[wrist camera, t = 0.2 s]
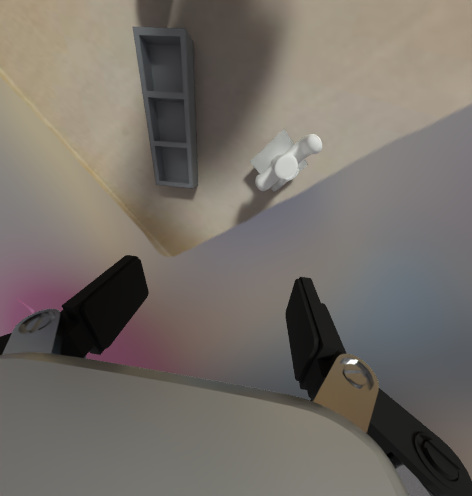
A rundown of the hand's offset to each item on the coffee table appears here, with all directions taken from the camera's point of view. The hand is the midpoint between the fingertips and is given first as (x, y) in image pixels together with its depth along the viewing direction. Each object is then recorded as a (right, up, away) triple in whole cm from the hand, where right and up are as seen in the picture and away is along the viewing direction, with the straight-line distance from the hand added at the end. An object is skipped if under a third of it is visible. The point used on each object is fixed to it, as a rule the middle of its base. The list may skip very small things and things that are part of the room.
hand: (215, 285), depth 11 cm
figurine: (+9, +19, +24) cm, 32 cm away
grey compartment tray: (-10, +26, +23) cm, 36 cm away
